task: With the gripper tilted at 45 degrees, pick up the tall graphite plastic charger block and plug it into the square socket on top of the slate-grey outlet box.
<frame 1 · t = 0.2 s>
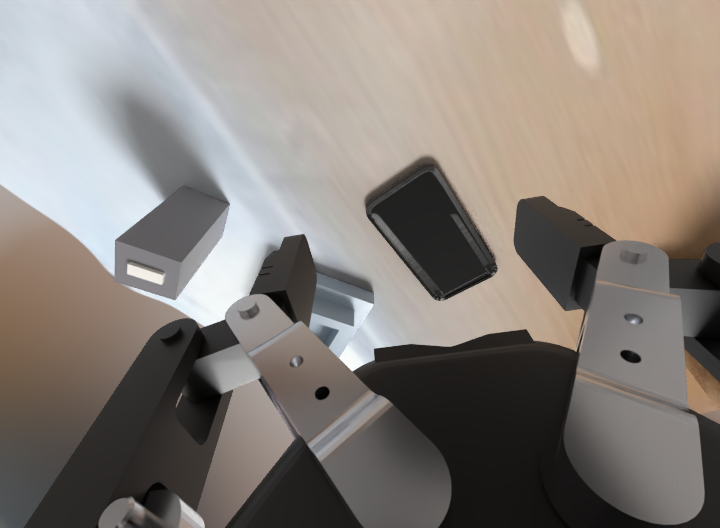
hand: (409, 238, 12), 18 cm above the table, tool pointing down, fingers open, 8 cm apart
charger: (203, 212, 32), on the table
outlet box: (308, 310, 39), on the table
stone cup: (668, 301, 38), on the table
phone: (433, 236, 33), on the table
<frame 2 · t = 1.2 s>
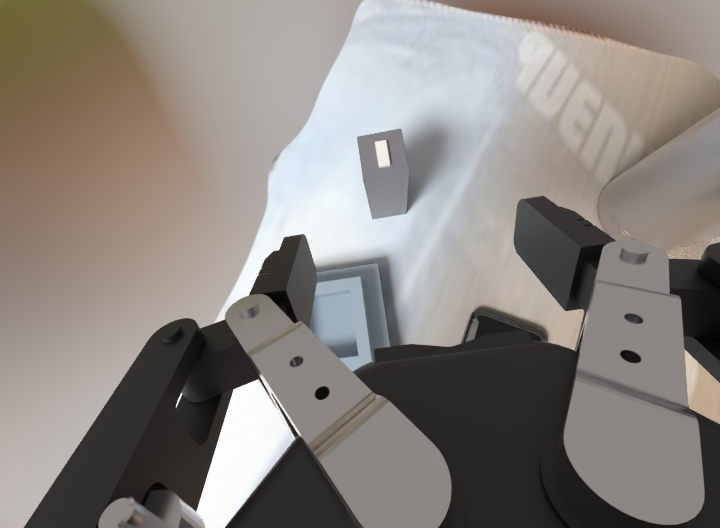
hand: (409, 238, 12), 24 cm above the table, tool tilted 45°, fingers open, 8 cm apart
charger: (386, 199, 38), on the table
outlet box: (333, 326, 36), on the table
phone: (486, 388, 33), on the table
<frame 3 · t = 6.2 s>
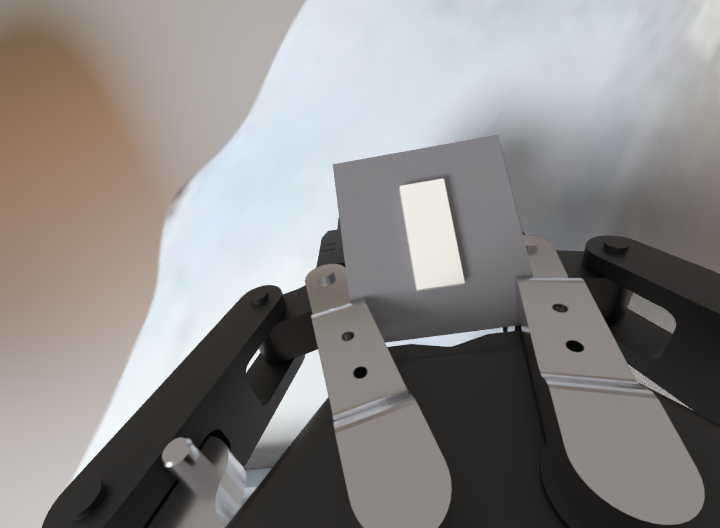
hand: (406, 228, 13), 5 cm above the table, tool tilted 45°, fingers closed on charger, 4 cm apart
charger: (410, 289, 17), on the table, touching gripper
when the fingers open (7 cm above the table, at t = 12.7 s): charger stays where it is, resting on outlet box.
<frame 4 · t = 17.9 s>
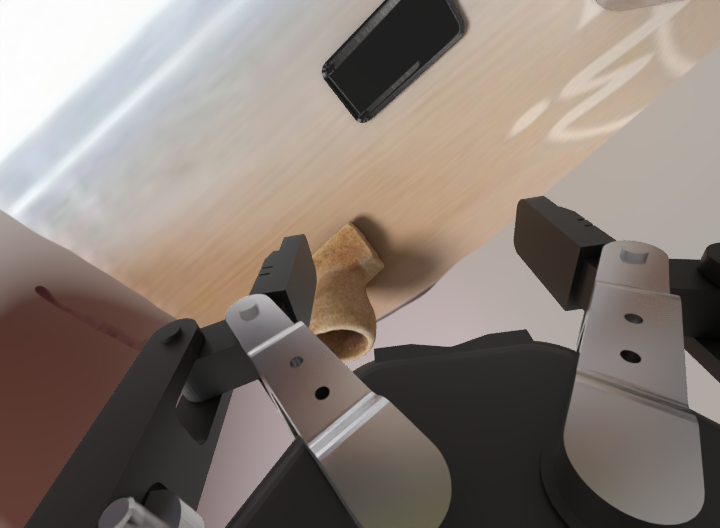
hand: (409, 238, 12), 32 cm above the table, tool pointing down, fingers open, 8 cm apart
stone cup: (343, 268, 52), on the table
phone: (390, 51, 36), on the table
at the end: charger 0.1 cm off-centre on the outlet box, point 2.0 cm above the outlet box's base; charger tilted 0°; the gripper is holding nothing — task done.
